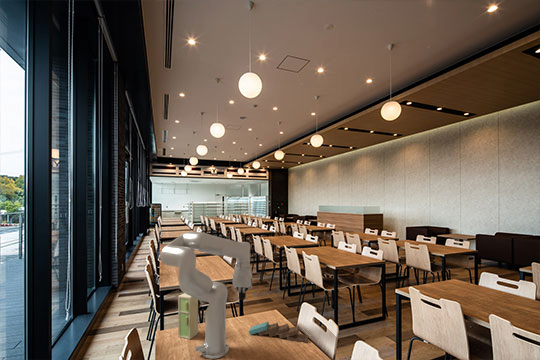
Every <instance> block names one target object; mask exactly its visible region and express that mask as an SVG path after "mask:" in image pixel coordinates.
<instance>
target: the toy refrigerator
mask: <svg viewBox="0 0 540 360" xmlns="http://www.w3.org/2000/svg"><path fill="white" fill-rule="evenodd" d="M177 300H178V301H177V307H178V310H177V311H178V312H177V314H178V315H177V317H178V319H177V320H178V321H177V323H178V325H177V326H178V327H177V328H178V330H177V332H178V333H177V335H178V336H177V337H178V338H182V339H186V340H192V339H193V338H194V337H196V336H197V335H198V334H199V300H198V299H195V298H193V297H191V296H189V295H188V294H186V293H184V292H183V293H182V294H180V295H178V297H177Z"/></svg>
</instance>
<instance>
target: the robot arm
mask: <svg viewBox="0 0 540 360" xmlns="http://www.w3.org/2000/svg"><path fill="white" fill-rule="evenodd" d="M196 252H200V253H205V254H209V255H214V256H221V257H227V258H231V259H232V258H233V259H235V261H234V262H233V265H234V266H235V267H234V269H233V273H232V286H233V288H234V289H236V290H237V291H238V293H239V295H238V296H239V297H238V298H239V300H240V301H242V302H243V301H244V300H245V299H246V298H247V297H246V292H247V291H248V290H252V289H253V274H252V268H251V244H250V242H247V241H235V240H233V239H228V238H223V237H220V236H215V235H214V234H213V235H212V234H210V233H206V232H201V231H186V232H184V233H182V234H180V235H179V236H177V237H176V238H175V239H173V240H172V241H171V242H169V243H168V244H166V245H165V246H163V248H162V250H161V251H160V255H159V258H160V262H161V263H162V264H164V265H166V266H170V267H175V268H178V273H177V274H178V276H177V279H178V285H179V289H180V290H181V292H183V293H186V294H188V295H189V296H191V297H193V298H195V299H198V301H202V302H205V303H208V306H207V308H206V310H205V314H204V315H205V316H204V319H205V321H204V323H205V325H204V337H205V338H204V341H203V343H201V345H197V346H194V352H198V353H200V354H201V355H202V356H203V357H204V358H207V359H211V360H214V359H215V360H216V359H219V358H222V357H224V356H226V355H227V354H229V351H230V346H229V344H227V343H226V342H227V341H226V340H227V339H226V329H227V328H226V327H227V325H226V322H227V321H226V320H227V319H226V315H227V313H226V311H227V299H228V295H229V294H228V293H229V290H228V287H227V286H226V284H224V283H222V282H219V281H215V280H212V278H211V277H210V276H209V275H208V274H205V273H204V272H202V271H200V270H199V269H198V268H197V267H196V264H197V256H196Z"/></svg>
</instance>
